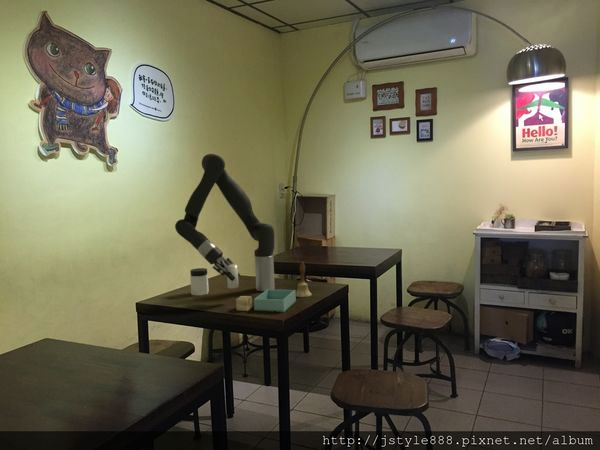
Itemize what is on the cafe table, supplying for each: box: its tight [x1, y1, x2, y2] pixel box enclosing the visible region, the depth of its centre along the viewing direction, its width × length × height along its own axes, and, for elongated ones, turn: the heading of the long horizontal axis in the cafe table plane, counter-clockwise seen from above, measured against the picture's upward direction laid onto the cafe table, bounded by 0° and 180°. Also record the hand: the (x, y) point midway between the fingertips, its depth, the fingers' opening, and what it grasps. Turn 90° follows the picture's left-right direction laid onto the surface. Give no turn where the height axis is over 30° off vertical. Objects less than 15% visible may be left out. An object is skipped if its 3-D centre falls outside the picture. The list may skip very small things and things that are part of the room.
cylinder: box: [226, 263, 240, 289], centre depth 214 cm, size 5×5×10 cm
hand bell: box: [295, 261, 313, 298], centre depth 222 cm, size 8×8×16 cm
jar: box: [189, 267, 210, 296], centre depth 234 cm, size 9×8×12 cm
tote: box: [253, 289, 297, 313], centre depth 206 cm, size 17×13×5 cm
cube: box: [235, 295, 253, 312], centre depth 203 cm, size 5×5×5 cm
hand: (236, 277), depth 213 cm, fingers closed on cylinder, 5 cm apart
